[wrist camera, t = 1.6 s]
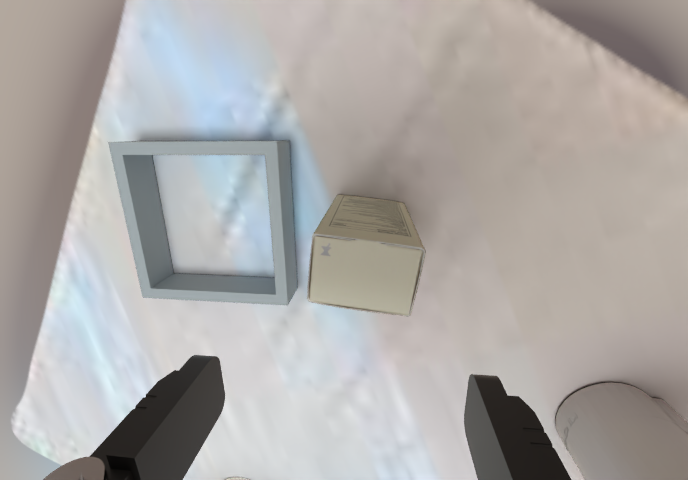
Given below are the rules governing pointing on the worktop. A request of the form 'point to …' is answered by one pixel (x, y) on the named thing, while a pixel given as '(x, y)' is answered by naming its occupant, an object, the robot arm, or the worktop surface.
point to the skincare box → (366, 257)
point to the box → (151, 234)
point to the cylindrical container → (236, 478)
